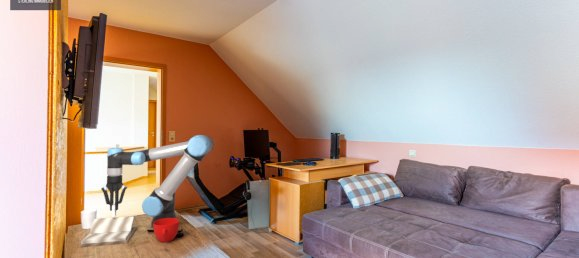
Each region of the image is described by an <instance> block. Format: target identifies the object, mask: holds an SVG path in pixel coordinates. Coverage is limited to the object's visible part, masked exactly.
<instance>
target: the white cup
mask: <svg viewBox="0 0 579 258" xmlns="http://www.w3.org/2000/svg"><path fill="white" fill-rule="evenodd" d="M97 213H98V211H97V209H96V208H90V209H84V210H82V211H80V221H81V222H80V223H81V229H82V230H91V228H92V225H93V222H94V220H95V219H97Z"/></svg>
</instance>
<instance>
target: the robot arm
mask: <svg viewBox="0 0 579 258" xmlns="http://www.w3.org/2000/svg"><path fill="white" fill-rule="evenodd" d="M214 146H215V142H214V140H213V138H212V137H210V136H209V135H207V134H202V135H201V134H198V135H193V137H191V138H190V139H189V140H188V141H184V142H183V141H182V142H178V143H173V144H172V143H171V144H168V145H161V146H157V147H152V148H148V149H147V148H146V149H141V150H136V151H124V148H121V147H110V148H108V149H107V156H106V157H107V161H106V162H107V166H106V175H107V176H106V184H105V186H103V187H102V188H101V191H102V193H103V196H104V200H105V204H106V205H109V211H110V212H111V218H116V216H117V211H118V210H119V205H120V204H122V203H123V200H124V196H125V193H126V190H127V188H128V186H125V185H124V183H123V175H122V174H123V166H142V165H143V164H144V163H147V162H152V161H157V160H162V159H168V158H174V157H177V156H178V157H179V156H182V157H181V158H180V159H179V160H178V162H177V163H176V165H175V166H174V167H173V169H172V170H171V171H170V172H169V174H168V175H167V176H166V177H165V179H164V180H163V181H162V183H161V184H160V185H159V186H158V187H155V188H154V189H153V190H152V192H151V193H150V195H148V197H146V198H145V199H144V200H143V201H142V203H141V210H142V212H143V213H144V214H145V215H146V216H148V217H150V218H151V217H152V219H151V223H150V227H151V228H152V229H154V227H153V223H154V222H155V221H157V220H159V219H164V218H176V219H178V218H177V215H176V212H175V211H176V210H175V209H176V208H175V207H176V201H175V200H176V191H177V190H178V188H179V187H180V186H181V185H182V183H183V182H184V180H185V179H186V178H187V176H188V175H189V173H190V172H191V171H192V170H193V168H194V167H195V166H196V164H197V163H201V162H202V161H203V160H204V158H205V157H206V155H207V154H209V153H211V152H212V150H214ZM108 190H109V193H108ZM120 190H121V193H120ZM119 196H120V197H119ZM114 198H115V199H114Z"/></svg>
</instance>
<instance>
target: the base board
mask: <svg viewBox="0 0 579 258" xmlns="http://www.w3.org/2000/svg"><path fill="white" fill-rule="evenodd" d="M136 231H137V227H136V226H135V227H133V226H132V229H131V233H130V231H125V232H111V233H98V234H89V233H88V235H86V236H85V237H84V238H83V239H82V240H81V241H80V243H79V244H78V245H77V246H78V247H77V248H87V247H97V246H98V247H99V246H109V245H111V246H112V245H121V244H128V242H129V241H130V240H131V238H132V237H133V235H134V234H135V232H136Z"/></svg>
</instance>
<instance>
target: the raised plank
mask: <svg viewBox="0 0 579 258" xmlns="http://www.w3.org/2000/svg"><path fill="white" fill-rule="evenodd" d="M134 220H135V216H119V217H116V216H115V217H105V218H104V217H103V218H102V217H101V218H96V219H95V220H94V222H93V225H92V228H91V229H89V230H90V231H89V233H88V235H89V234H98V233H111V232H125V231H130V233H131V229H132V227H133V224H134Z"/></svg>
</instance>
